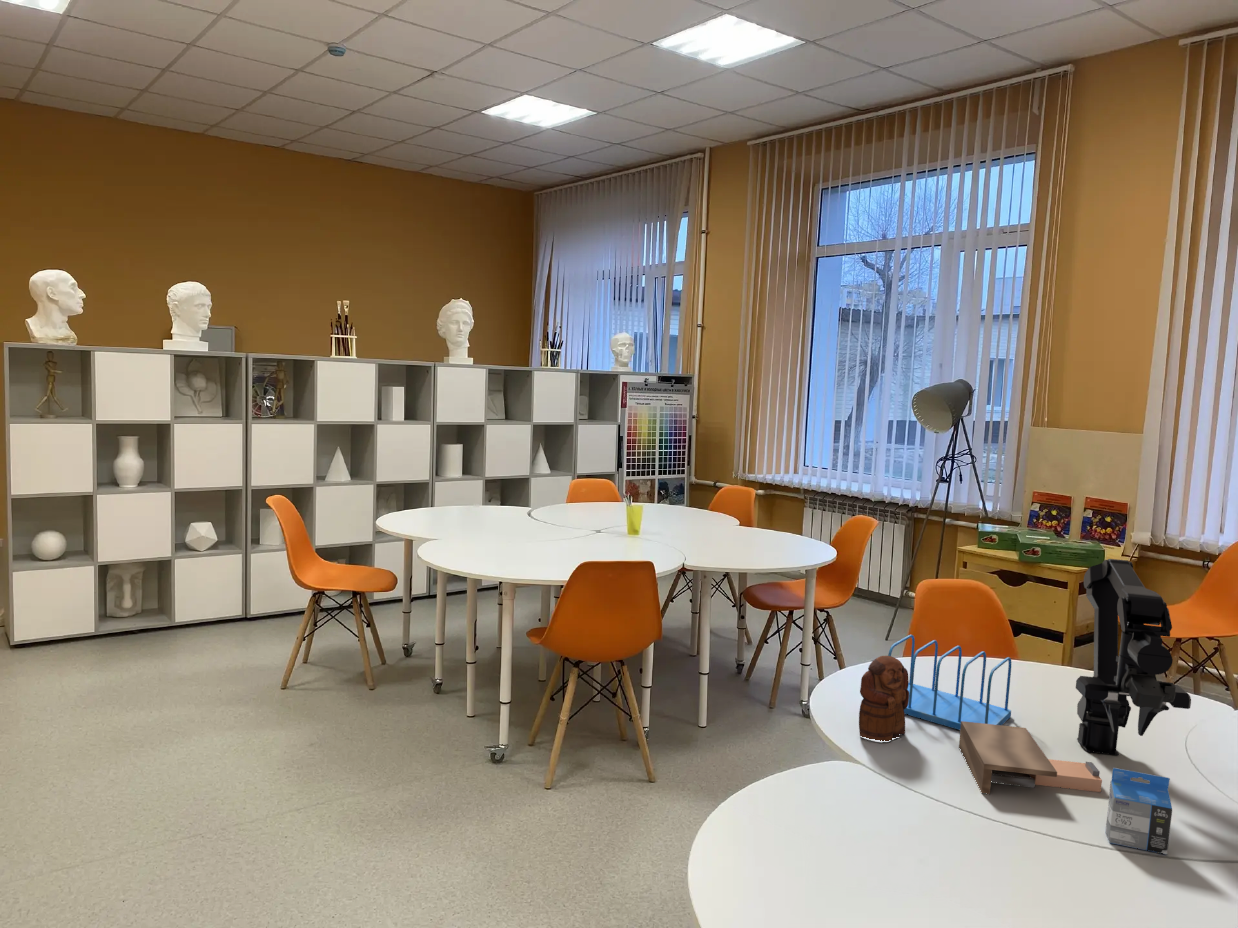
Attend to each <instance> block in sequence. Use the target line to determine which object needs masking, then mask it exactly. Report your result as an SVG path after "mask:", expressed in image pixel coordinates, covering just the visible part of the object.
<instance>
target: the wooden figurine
mask: <svg viewBox="0 0 1238 928" xmlns="http://www.w3.org/2000/svg"><path fill="white" fill-rule="evenodd" d="M867 669H868V670H867V671H865V672H864V674H863V675H862V677H861V681H860V687H859V688H860V689H859V694H860V696H861V697H862V698H863V699H862V700H861V702H860V704H859V705H860V706H859V711H858V712H859V713H858V727H859V728H858V729H859V737H860V736H862V737H866V738H869V739H875V740H880V741H881V740H882V741H884V740H885V741H889V740H891V741H893V740H892V738H896V737H900V738H901V735H899V734H905V735H906V717H905V716H906V714H905V713H904V709H906V708H907V706H908V702H909V691H908V690H907V689H908V684H909V671H908V670H907V668H906V667H905V666H904V665H903V663H902V662H901V660H899V659H898V658H896V657H894V656H893V655H891V656H888V655H880V656H878V657H876V658H874V659H873V660H872V661H871V663H869V665H868V667H867Z"/></svg>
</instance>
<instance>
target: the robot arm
mask: <svg viewBox="0 0 1238 928" xmlns="http://www.w3.org/2000/svg"><path fill="white" fill-rule="evenodd" d="M1083 587H1084V589H1086V598H1087V600H1088V602H1089V603H1090V604H1091V606H1092V608H1093V609H1094V611H1093V612H1094V613H1093V614H1094V619H1093V620H1094V622H1093V623H1094V624H1093V625H1094V626H1093V628H1094V629H1093V675H1092V676H1087V675H1086V676H1085V675H1080V676H1078V677H1077V679H1076V681H1075V689H1076V691H1078V692H1079V694H1081V695H1082V696H1081V698H1080V699H1079V701H1078V702H1077V706H1076V707H1077V710H1076V711H1077V712H1076V715H1077V716H1078V718H1079V719H1080V721H1081V722H1080V723H1079V724H1078V725H1079V726H1078V734H1077V735H1078V736H1077V738H1076V740H1077V742H1078V743H1079V744H1080V745H1081V747H1082V748H1083V749H1084V750H1085V751H1086V752H1087V753H1093V754H1103V755H1112V756H1120V752H1119V751H1118V749H1117V744H1118V737H1119V728H1120V727H1121V728H1126V726H1127V723H1128V720H1129V717H1130V712H1131V711H1132V707H1131V706H1130V701H1129V700H1128V697H1130V699H1131V701H1132V704H1133V705H1134V706H1136V707H1138V708H1139V710H1138V711H1139V712H1138V722H1137V734H1138V735H1139V736H1140V737H1143V735H1145V733H1146V731H1147V729H1148V728H1149V726H1150V725H1151V723H1152V722H1153V720H1154V718H1156V717H1157V715H1158V714H1159V713H1161V712H1163V711H1169V710H1170V707H1169V706H1168V705H1167V703H1169V704H1170V705H1171V707H1173V708H1177V709H1185V710H1186V709H1187V710H1189V709H1191V705H1192V697H1191V695H1190V694H1189V692H1188V691H1186V690H1184V689H1183V688H1182V687H1181V686H1179V685H1178V684H1174V682H1168V681H1159V680H1157V676H1156V675H1161V674H1165V673H1166V672H1168V671H1169V670H1170V668H1171V667H1172V665H1173V662H1174V661H1173V656H1172V654H1171V652H1170V650H1169V649H1168V648H1166V646H1164V644H1163V638H1162V637H1168V638H1170V637H1171V631H1172V629H1173V626H1172V621H1171V620H1172V619H1171V615H1170V610H1169V607H1168V605H1167V603H1166V601H1165V600H1164V598H1163V597H1162V596H1161V594H1159V593H1157V592H1156V591H1153V590H1151V589H1149V588H1146V587H1145V585H1144V584H1143V582H1142V581H1141V579H1140V578H1139V576H1138V575H1137V573H1136V571H1135V570H1134V564H1133V562H1132V561H1130V560H1127V559H1115V558H1108V559H1104V560H1103V561H1102V563H1101V562H1100V563H1098V564H1095V565H1092V566H1089V568H1088V569H1087V570H1086V571H1085V572H1084V576H1083ZM1119 624H1120V629H1121V637H1120V643H1119ZM1119 644H1120V645H1119Z"/></svg>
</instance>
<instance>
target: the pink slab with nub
mask: <svg viewBox="0 0 1238 928" xmlns="http://www.w3.org/2000/svg"><path fill="white" fill-rule="evenodd" d="M1048 760H1049V761H1050V763H1051V764H1052V765H1053V767H1054V768H1055V770H1056V771H1057V777H1052V776H1043V775H1034V774H1028V777H1029V778H1030V777H1031V778H1034V779H1035V786H1045V787H1053V788H1060V787H1061V788H1063V789H1069V788H1070V790H1076V791H1077V790H1080V791H1087V792H1095V793H1101V791H1102V785H1103V779H1102V778H1101V777H1100V770H1099V769H1098V767H1097V766H1096V765H1095V764H1094V763H1093V762H1092V761H1085V762H1078V761H1077V762H1076V761H1070V760H1069V761H1068V760H1059V759H1051V758H1048ZM1061 788H1060V789H1061Z"/></svg>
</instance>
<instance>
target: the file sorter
mask: <svg viewBox="0 0 1238 928" xmlns="http://www.w3.org/2000/svg"><path fill="white" fill-rule="evenodd" d="M908 639H911V653H910V655H911V656H910V667H909V668H910V669H909V678H908V680H909V684H908V689H907V690H908V691H909V702H908V706H907V708H906V709H904V713H905V715H907V714H908V715H907V716H911V717H915V718H918V719H920V718H921V720H925V721H927V722H931V723H935V724H937V725H941V726H945V727H947V728H948V727H949V728H951V729H955V730H959V731H960V729H961V721H965V722H974V723H984V724H993V725H1003V726H1004V724H1005V723H1006V721H1008V720H1009V719H1010V718H1011V717H1012V710H1011V709H1009V698H1010V697H1009V696H1010V695H1009V694H1010V685H1011V675H1012V674H1011V673H1012V658H1011V657H1009V656H1008V657H1006V658H1004V659H1003V660H1002V661H1000V662H999V663H998V664H996V665H995V666H994V667H993V668H992V669H991V670H990V673H989V677H988V682H987V690H986V702H983V699H984V688H985V677H986V669H987V667H986V666H987V653H986V652H985V651H980V652H979V653H977V654H976V655H975V656H973V657H972V658H970V659H969V660H967V662H966V663H965V664H964V667H963V670H962V674H961V666H962V655H963V653H962V651H963V649H962V647H961V645H956V646H954V647H952V648H951V649H950V650H948V651H946V652H945V653H944V654H942V655H941V656H940V657H939V659H938V654H939V653H938V652H939V644H938V641H937V640H936V639H933V640H932V641H929V642H928V643H926V644H924V645H923V646H921V647H919V648H918V649H917V650H915V646H916V645H915V644H916V643H915V641H916V640H915V635H913V634H909V635H907V636H905V637H902V638H901V639H900V640H898V641H896V642H894V643H893V644H891V646H890V648H889V651H888V653H887V654H888V655H887V656H892V653H893V650H894V648H895V647H897V646H899V645H900V644H902V643H904V642H905V641H906V640H908ZM932 645H935V648H934V660H933V661H934V662H933V669H932V670H933V672H932V674H933V675H932V685H931V687H927V686H923V685H920V684H916V683H914V676H915V666H916V665H915V664H916V659H917V656H918V655H919V653H921V652H923V650H925V649H926V648H928V647H930V646H932ZM956 650H958V660H957V661H958V662H957V671H956V685H955V693H954V694H952V693H949V692H947V691H942V690H939V677H940V667H941V664H942V661H943V660H944V658H946V657H947V656H948V655H950V654H952V653H953V652H955V651H956ZM981 656H982V657H983V658H982V659H983V662H982V671H981V682H980V683H981V684H980V692H979V693H980V694H979V701H978V700H975V699H972V698H967V697H965V696H964V689H965V679H966V678H965V677H966V671H967V669H968V666H969V665H971V664H972V663H973V662H975V661H976V660H977V659H979V658H980V657H981ZM1006 662H1008V668H1007V678H1006V679H1007V680H1006V681H1007V682H1006V690H1005V700H1004V707H1002V706H998V705H994V704H990V701H991V700H990V699H991V698H990V697H991V687H992V686H991V685H992V680H993V674H995V672H996V671H997V670H998V669H999V668H1000V667H1002V665H1005V663H1006ZM960 678H961V683H960ZM959 690H960V693H959Z"/></svg>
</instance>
